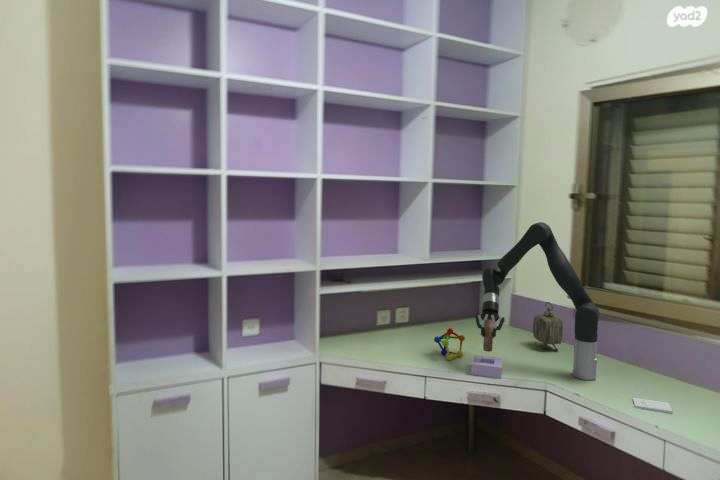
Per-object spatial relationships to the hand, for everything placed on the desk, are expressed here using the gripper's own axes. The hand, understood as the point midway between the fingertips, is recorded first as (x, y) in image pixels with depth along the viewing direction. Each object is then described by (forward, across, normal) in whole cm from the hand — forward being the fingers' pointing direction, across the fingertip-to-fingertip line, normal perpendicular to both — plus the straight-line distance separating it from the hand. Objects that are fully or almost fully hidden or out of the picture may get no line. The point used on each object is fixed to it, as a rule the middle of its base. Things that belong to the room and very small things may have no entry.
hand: (488, 336), depth 219 cm
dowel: (+4, 0, +6) cm, 7 cm away
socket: (+11, 0, +14) cm, 17 cm away
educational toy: (+1, -20, +24) cm, 31 cm away
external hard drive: (+22, +64, +3) cm, 67 cm away
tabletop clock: (-21, +28, +46) cm, 57 cm away
